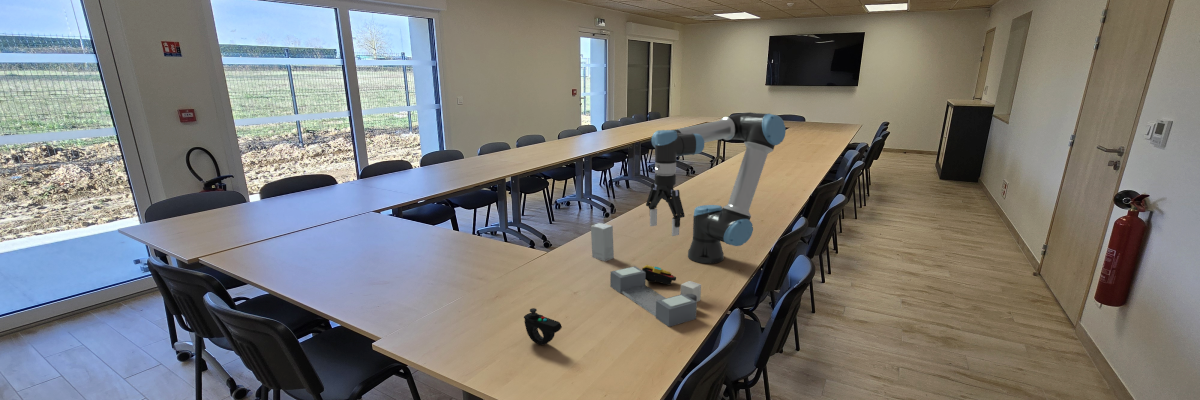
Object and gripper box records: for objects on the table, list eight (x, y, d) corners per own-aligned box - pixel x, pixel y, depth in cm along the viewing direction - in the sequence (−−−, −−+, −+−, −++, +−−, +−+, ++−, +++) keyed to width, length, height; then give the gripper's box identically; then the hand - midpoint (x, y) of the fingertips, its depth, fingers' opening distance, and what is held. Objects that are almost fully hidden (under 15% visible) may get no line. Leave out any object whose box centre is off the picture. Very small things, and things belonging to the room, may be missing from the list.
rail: (636, 282, 192) (636, 279, 192) (690, 316, 165) (690, 313, 165) (614, 288, 187) (614, 285, 187) (666, 323, 160) (666, 320, 160)
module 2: (682, 310, 170) (683, 293, 168) (695, 318, 164) (696, 301, 162) (655, 317, 164) (656, 300, 163) (668, 326, 158) (669, 308, 157)
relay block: (688, 296, 181) (689, 280, 180) (700, 300, 177) (701, 284, 176) (680, 300, 178) (680, 284, 176) (691, 304, 174) (692, 288, 173)
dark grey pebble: (690, 306, 173) (691, 293, 172) (698, 311, 169) (699, 297, 168) (681, 309, 171) (682, 295, 170) (689, 313, 167) (689, 299, 166)
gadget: (673, 289, 187) (677, 275, 187) (638, 279, 189) (642, 264, 189) (673, 286, 193) (677, 272, 193) (640, 276, 196) (644, 262, 195)
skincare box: (614, 258, 218) (614, 225, 214) (604, 262, 214) (604, 228, 210) (600, 254, 224) (600, 221, 220) (590, 257, 219) (590, 224, 216)
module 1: (634, 280, 194) (635, 265, 193) (645, 287, 188) (645, 271, 187) (610, 286, 189) (610, 270, 187) (620, 293, 183) (620, 277, 182)
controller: (531, 334, 154) (530, 304, 151) (564, 346, 147) (563, 315, 145) (522, 340, 150) (521, 310, 148) (554, 353, 144) (554, 320, 141)
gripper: (637, 169, 189) (636, 223, 195) (678, 181, 168) (676, 241, 173) (653, 167, 193) (652, 220, 198) (696, 178, 172) (693, 237, 177)
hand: (664, 230), depth 186 cm, fingers open, 13 cm apart
